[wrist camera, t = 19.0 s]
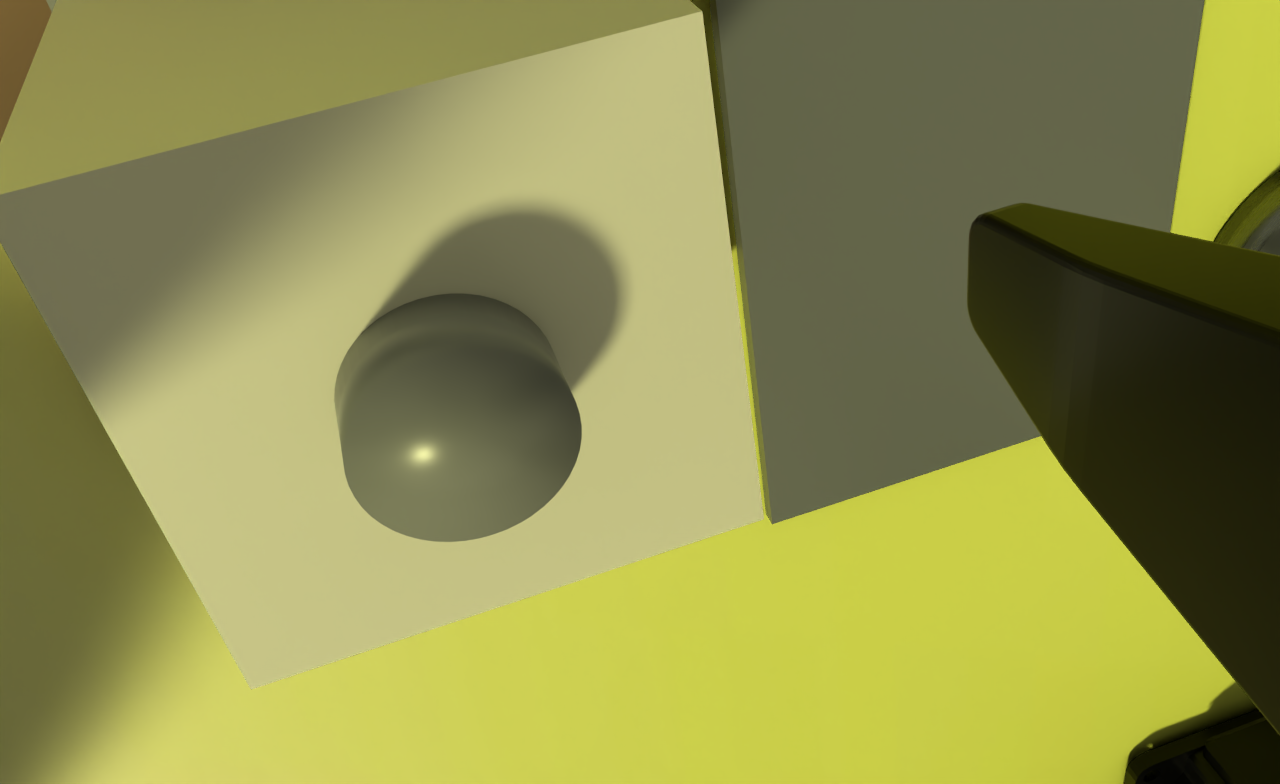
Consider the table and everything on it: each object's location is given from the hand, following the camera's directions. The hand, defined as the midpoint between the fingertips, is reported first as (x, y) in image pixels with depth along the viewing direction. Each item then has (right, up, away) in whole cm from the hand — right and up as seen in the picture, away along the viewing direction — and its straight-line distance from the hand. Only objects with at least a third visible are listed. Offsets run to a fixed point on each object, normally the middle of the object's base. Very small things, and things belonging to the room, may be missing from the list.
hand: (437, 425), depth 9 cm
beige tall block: (-2, +4, +6) cm, 8 cm away
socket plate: (+7, +3, +11) cm, 13 cm away
